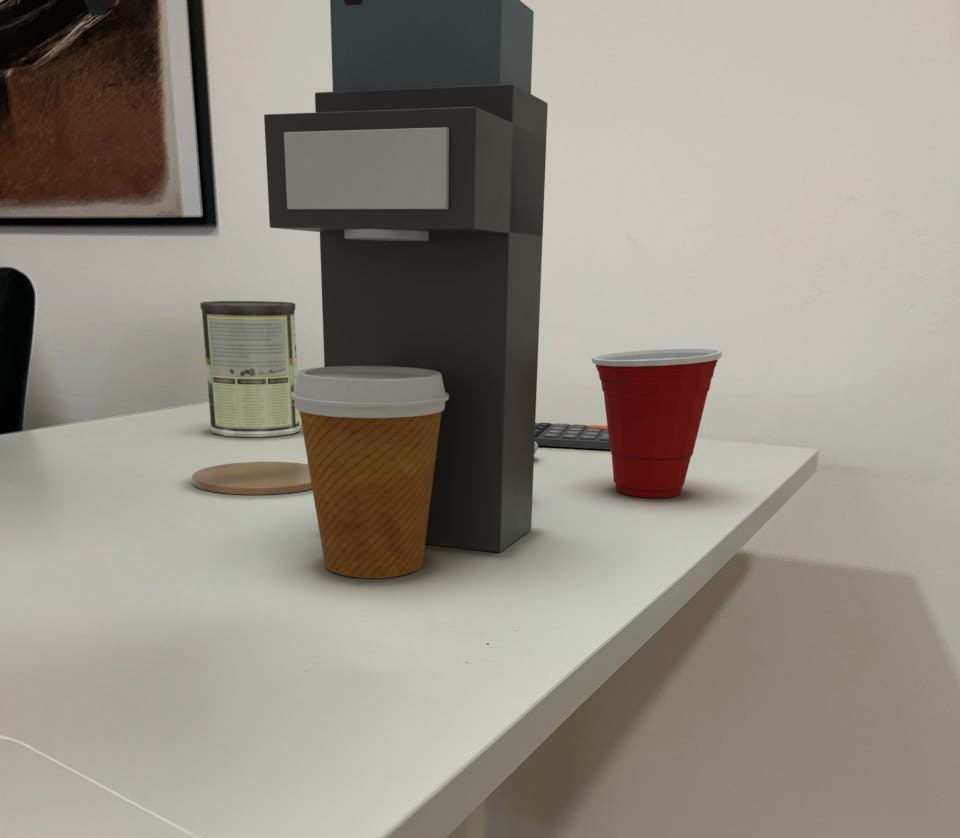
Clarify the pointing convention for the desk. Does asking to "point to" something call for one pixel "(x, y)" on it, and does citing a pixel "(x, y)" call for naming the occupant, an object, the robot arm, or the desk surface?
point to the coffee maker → (432, 231)
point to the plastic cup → (654, 415)
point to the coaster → (254, 478)
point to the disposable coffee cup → (371, 463)
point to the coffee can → (251, 367)
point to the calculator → (572, 435)
